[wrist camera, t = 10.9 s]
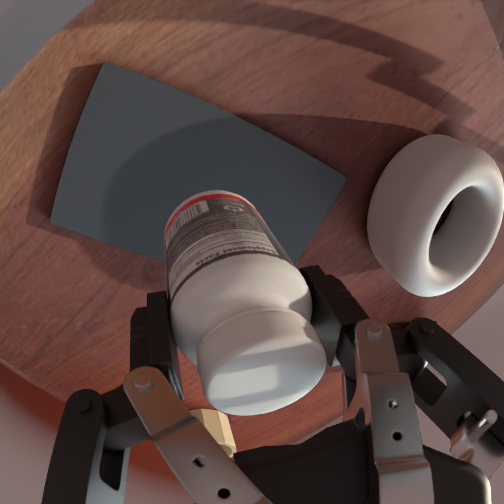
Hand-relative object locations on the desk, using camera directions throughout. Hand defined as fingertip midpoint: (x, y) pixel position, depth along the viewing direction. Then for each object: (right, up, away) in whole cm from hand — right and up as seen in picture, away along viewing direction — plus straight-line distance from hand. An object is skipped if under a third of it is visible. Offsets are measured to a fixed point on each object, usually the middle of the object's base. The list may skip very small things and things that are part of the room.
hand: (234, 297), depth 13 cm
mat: (-3, +6, +10) cm, 12 cm away
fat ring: (+18, +7, +16) cm, 25 cm away
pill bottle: (-1, +3, +5) cm, 6 cm away
